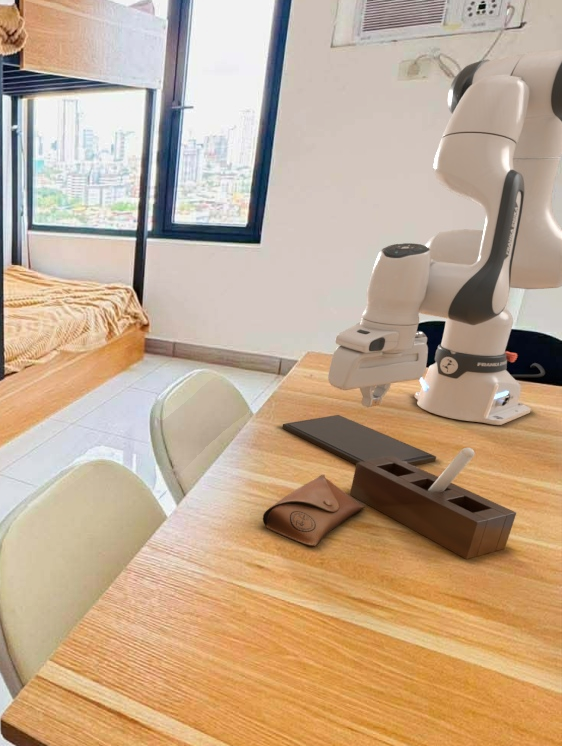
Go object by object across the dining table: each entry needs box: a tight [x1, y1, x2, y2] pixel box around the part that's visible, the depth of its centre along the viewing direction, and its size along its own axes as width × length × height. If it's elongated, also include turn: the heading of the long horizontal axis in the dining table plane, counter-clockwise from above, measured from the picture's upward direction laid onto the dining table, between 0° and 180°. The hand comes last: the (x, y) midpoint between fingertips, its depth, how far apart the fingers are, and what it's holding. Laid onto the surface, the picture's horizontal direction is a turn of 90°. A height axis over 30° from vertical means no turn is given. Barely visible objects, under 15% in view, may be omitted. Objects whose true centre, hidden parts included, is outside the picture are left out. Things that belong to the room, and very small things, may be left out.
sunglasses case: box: [262, 474, 366, 547], centre depth 98 cm, size 18×7×7 cm
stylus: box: [428, 447, 476, 494], centre depth 94 cm, size 2×2×15 cm
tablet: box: [281, 414, 437, 466], centre depth 124 cm, size 15×22×1 cm
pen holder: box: [349, 456, 517, 560], centre depth 97 cm, size 8×19×6 cm, turn 18°
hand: (370, 405), depth 119 cm, fingers closed
